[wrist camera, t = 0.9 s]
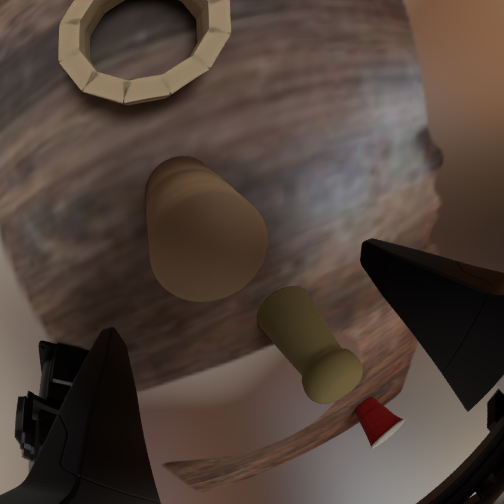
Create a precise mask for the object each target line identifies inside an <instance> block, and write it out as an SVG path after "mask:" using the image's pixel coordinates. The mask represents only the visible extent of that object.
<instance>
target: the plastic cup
mask: <svg viewBox="0 0 504 504" xmlns="http://www.w3.org/2000/svg"><path fill="white" fill-rule="evenodd" d="M355 412H356V414H357V416H358V418H359V420H360V423H361V425H362V427H363V429H364V431H365V433H366V435H367V437H368V440H369V442H370V445H371V449H373V448H375V447H377V446H378V445H380V444H381V443H382V442H384V441H385V440H386V439H387V438H389V437H390V436H391V435H392V434H393V433H394V432H395V431H396V430H397V429H398V428H399V427H400V426H401V425H402V424H403V423H404V421H405V419H401V418H399V417H397V416H396V415H394V414H393V413H392V412H390V411H389V410H388V409H387V408H386V407H384V406H383V405H382V404H380V403H379V402H378V401H377V400H376V399H375V398H373V397H371V398H368V399H367V400H365V401H364V402H362V403H361V404H360V405H359V406H358V407H357V408H356V409H355Z"/></svg>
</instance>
